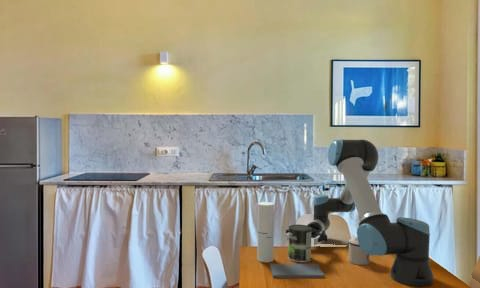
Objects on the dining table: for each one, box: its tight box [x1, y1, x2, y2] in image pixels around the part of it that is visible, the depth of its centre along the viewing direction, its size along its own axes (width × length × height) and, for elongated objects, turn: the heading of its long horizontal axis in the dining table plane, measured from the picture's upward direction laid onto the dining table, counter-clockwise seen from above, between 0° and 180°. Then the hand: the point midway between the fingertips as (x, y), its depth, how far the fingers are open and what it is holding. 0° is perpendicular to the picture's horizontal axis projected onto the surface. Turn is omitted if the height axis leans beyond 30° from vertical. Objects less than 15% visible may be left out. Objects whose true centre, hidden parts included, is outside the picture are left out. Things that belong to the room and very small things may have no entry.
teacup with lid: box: [348, 234, 370, 266], centre depth 163 cm, size 12×9×12 cm
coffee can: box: [287, 224, 312, 263], centre depth 166 cm, size 10×10×14 cm
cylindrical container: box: [256, 201, 275, 263], centre depth 164 cm, size 7×7×25 cm
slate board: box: [269, 263, 325, 279], centre depth 150 cm, size 20×12×1 cm, turn 91°
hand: (300, 239), depth 167 cm, fingers open, 13 cm apart
